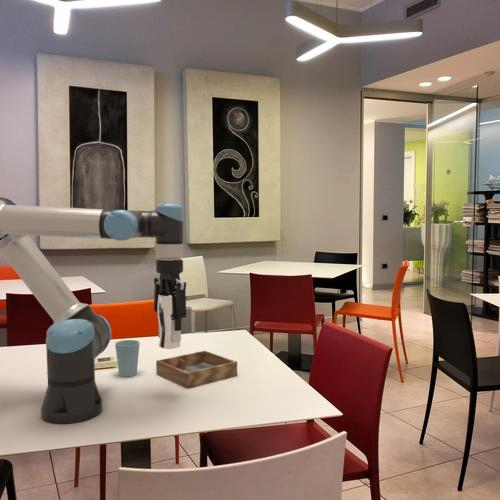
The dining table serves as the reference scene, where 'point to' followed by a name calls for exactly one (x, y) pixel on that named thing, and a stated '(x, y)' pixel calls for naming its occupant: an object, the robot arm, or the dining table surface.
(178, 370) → the caddy
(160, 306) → the shiny metal cylinder
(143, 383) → the dining table surface
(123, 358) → the cup
